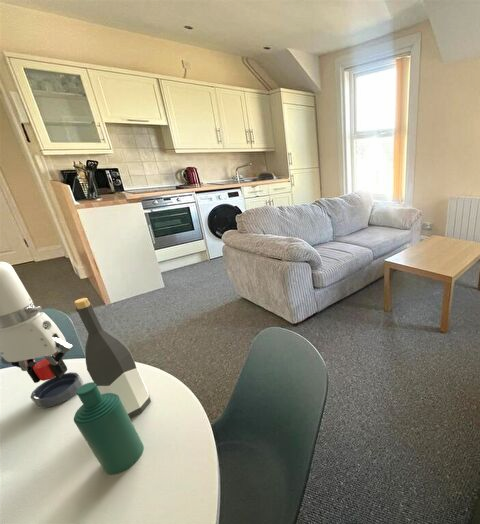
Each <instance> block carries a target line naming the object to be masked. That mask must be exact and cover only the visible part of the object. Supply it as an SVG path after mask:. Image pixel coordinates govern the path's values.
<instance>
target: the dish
mask: <svg viewBox="0 0 480 524" xmlns="http://www.w3.org/2000/svg"><path fill="white" fill-rule="evenodd" d="M83 383H84V382H83V379H82V378H81V375H80V374H78V372H72V371H70V372H65V373H64V374H63V376H62V377H61V378H56V377H54V378H51V379H49V380H45V381H44V382H42V383H41V384H39V385H38V386H37V387H36V388H35V389H34V390H33V391H32V392H31V394H30V396H29V397H30V399H31V401H32V402H33V404H34V405H35V406H36V407H37V408H39V409H40V408H41V409H45V408H50V407H54V406H57V405H60V404H61V403H64V402H66V401H68V400H70V399H71V398H72V397H74V396H75V395H77V394H76V393H77V390H78V389H79V388H80V387H81V386H83V385H84V384H83Z"/></svg>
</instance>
